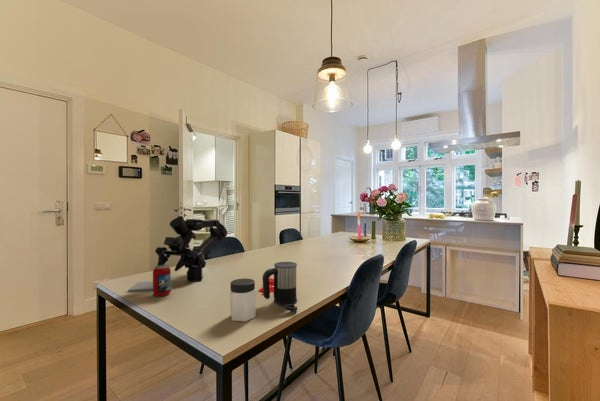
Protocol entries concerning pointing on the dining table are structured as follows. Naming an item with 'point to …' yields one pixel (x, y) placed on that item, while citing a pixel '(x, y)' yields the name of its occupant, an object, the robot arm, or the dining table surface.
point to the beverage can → (161, 280)
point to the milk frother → (282, 284)
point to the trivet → (142, 287)
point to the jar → (242, 299)
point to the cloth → (271, 283)
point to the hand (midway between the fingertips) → (166, 270)
